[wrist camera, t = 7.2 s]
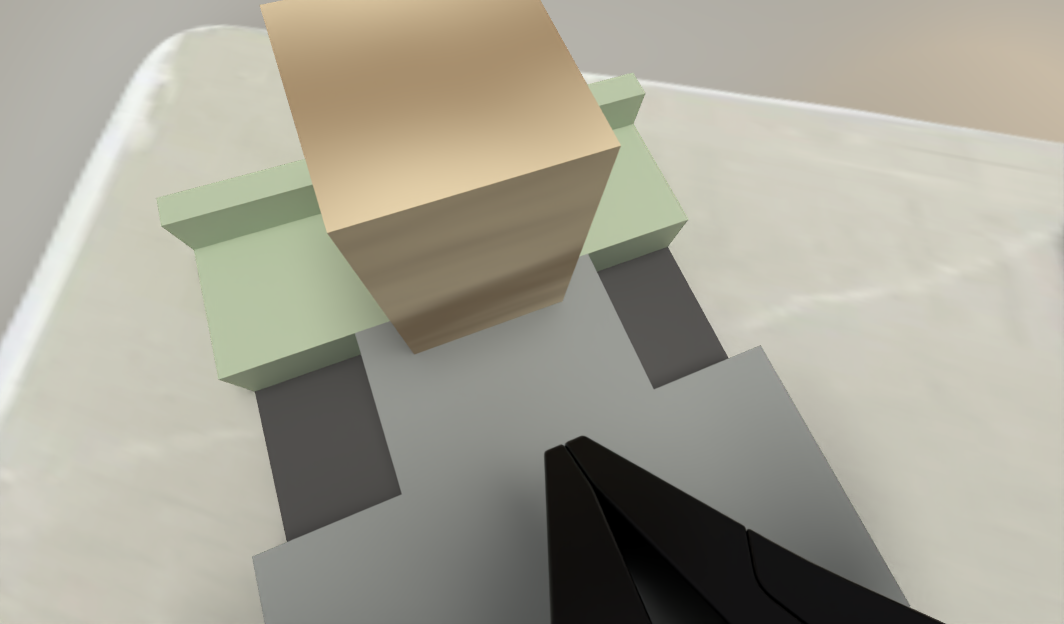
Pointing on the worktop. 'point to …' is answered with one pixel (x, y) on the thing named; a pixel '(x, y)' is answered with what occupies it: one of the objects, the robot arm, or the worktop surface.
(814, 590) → the robot arm
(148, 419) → the worktop surface
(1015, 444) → the worktop surface
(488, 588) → the board
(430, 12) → the beech block
